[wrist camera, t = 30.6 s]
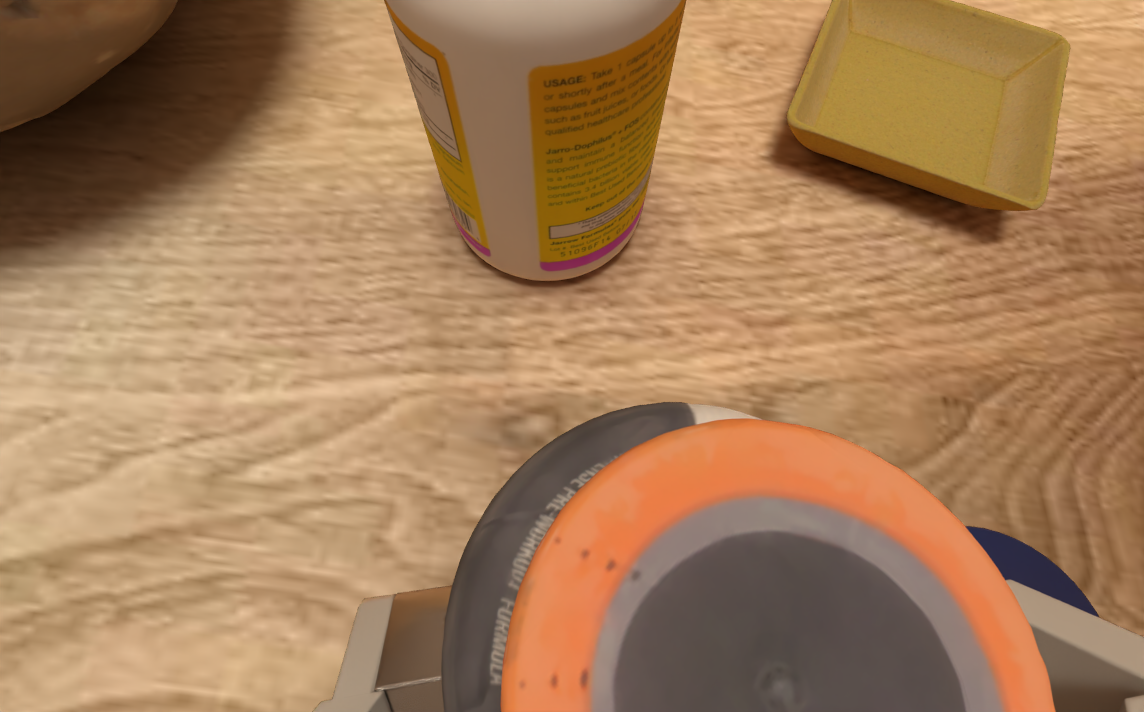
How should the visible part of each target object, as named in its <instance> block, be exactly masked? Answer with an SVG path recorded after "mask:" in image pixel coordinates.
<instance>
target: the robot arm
mask: <svg viewBox="0 0 1144 712" xmlns="http://www.w3.org/2000/svg"><path fill="white" fill-rule="evenodd" d="M1005 581H1006V582H1007V584H1008V585H1009V587H1010V589H1011V590H1012V592H1013V593H1014V595H1015V597H1016V599H1017V601H1018V603H1019V605H1020V607H1021V609H1022V611H1023V613H1024V615H1025V617H1026V618H1027V620H1028V622H1029V624H1030V626H1031V628H1032V631H1033V634H1034V637H1035V641H1036V644H1037V647H1038V650H1039V652H1040V654H1041V657H1042V659H1043V661H1044V663H1045V665H1046V668H1047V672H1048V676H1049V680H1050V685H1051V691H1052V697H1053V703H1054V707H1055V711H1056V712H1144V637H1142V636H1140V635H1138V634H1136V633H1133V632H1131V631H1129V630H1126V629H1124V628H1122V627H1119V626H1117V625H1115V624H1112V623H1110V622H1108V621H1105V620H1103V619H1101V618H1099V617H1096V616H1094V615H1092V614H1089V613H1087V612H1085V611H1082V610H1080V609H1078V608H1075V607H1073V606H1071V605H1068V604H1066V603H1064V602H1061V601H1059V600H1057V599H1055V598H1052V597H1050V596H1048V595H1045V594H1043V593H1041V592H1038V591H1036V590H1034V589H1031V588H1029V587H1027V586H1024V585H1022V584H1020V583H1017V582H1015V581H1013V580H1011V579H1010V580H1005ZM451 588H452V586H445V587H438V588H431V589H424V590H417V591H409V592H402V593H397V594H393V595H386V596H379V597H371V598H364V600H363V601H362V603H361V604H360V606H359V607H358V609H357V613H356V616H355V620H354V623H353V627H352V630H351V634H350V637H349V641H348V644H347V648H346V651H345V655H344V659H343V662H342V666H341V669H340V673H339V676H338V680H337V683H336V687H335V690H334V694H333V697H332V699H331V700H326V701H321V702H320V703H319V704H318V706H317V707H316V708H315V709H314V710H313V711H312V712H444V703H443V694H442V675H441V663H442V646H443V636H444V626H445V617H446V612H447V607H448V602H449V597H450V592H451Z"/></svg>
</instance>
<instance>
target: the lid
mask: <svg viewBox="0 0 1144 712" xmlns="http://www.w3.org/2000/svg"><path fill="white" fill-rule="evenodd" d="M965 527H966V528H967V529H968V531H969V532H970V533H971V534H972V535H973V537H974V538H975V539H976V540H977V541H978V543H979V544H980V545H981V546H982V548H983V549H984V550H985V551H986V553H987V554H988V555H989V557H990V558H991V560H992V561H993V562H994V564H995V565H996V567H997V568H998V570H999V571H1000V573H1001V574H1002V576H1003V577H1004V579H1005V580H1010V579H1011V580H1013V581H1015V582H1017V583H1020V584H1022V585H1024V586H1027V587H1029V588H1031V589H1034V590H1036V591H1038V592H1041V593H1043V594H1045V595H1048V596H1050V597H1052V598H1055V599H1057V600H1059V601H1061V602H1064V603H1066V604H1068V605H1071V606H1073V607H1075V608H1078V609H1080V610H1082V611H1085V612H1087V613H1089V614H1092V615H1094V616H1096V617H1099V616H1098V614H1097V612H1096V611H1095V609H1094V608H1093V606H1092V605H1091V603H1090V602H1089V600H1088V599H1087V598H1086V596H1085V595H1084V594H1083V593H1082V591H1081V590H1080V589H1079V588H1078V587H1077V585H1076V584H1075V583H1074V582H1073V581H1072V580H1071V579H1070V578H1069V577H1068V576H1067V575H1066V574H1065V573H1064V572H1063V571H1062V570H1061V569H1060V568H1059V567H1058V566H1057V565H1055V564H1054V563H1053V562H1052V561H1050V560H1049V559H1048V558H1047V557H1046V556H1044V555H1043V554H1041V553H1040V552H1038V551H1037V550H1035V549H1034V548H1032V547H1030V546H1028V545H1027V544H1025V543H1023V542H1021V541H1019V540H1017V539H1015V538H1013V537H1010V536H1007V535H1005V534H1002V533H1000V532H996V531H992V530H989V529H985V528H978V527H971V526H965Z"/></svg>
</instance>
